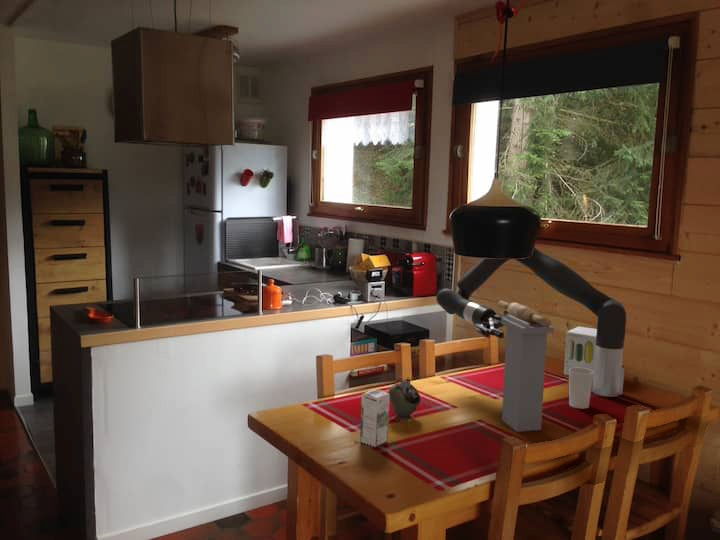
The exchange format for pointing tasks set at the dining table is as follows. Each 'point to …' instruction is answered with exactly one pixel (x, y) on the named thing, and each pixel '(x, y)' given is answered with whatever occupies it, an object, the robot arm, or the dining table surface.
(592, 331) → the supplement box
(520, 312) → the rolling pin
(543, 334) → the stand
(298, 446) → the dining table surface
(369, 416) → the syrup box
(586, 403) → the cup
